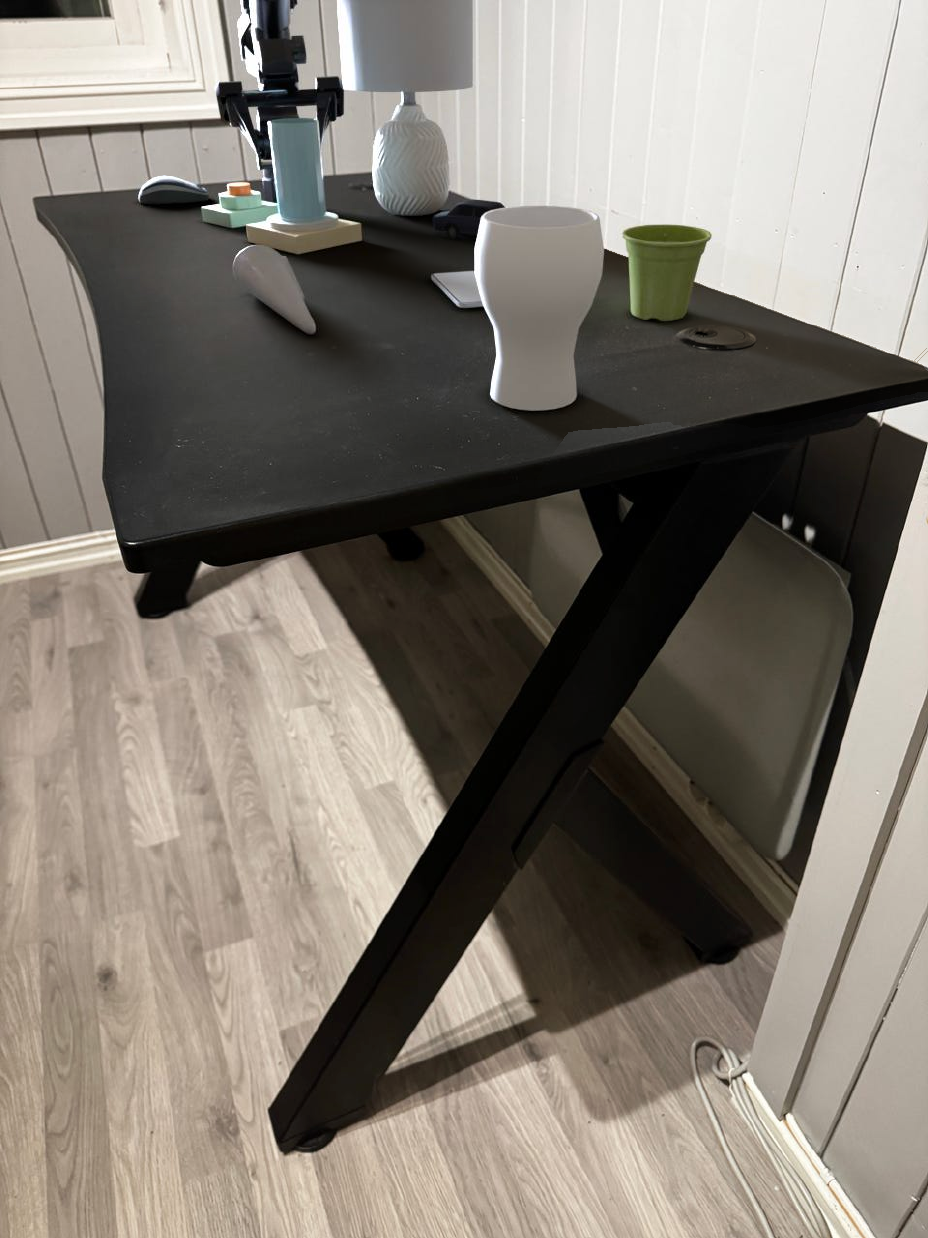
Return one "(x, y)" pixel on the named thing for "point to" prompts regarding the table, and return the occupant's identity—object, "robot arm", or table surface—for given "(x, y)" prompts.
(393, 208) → the lamp
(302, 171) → the tumbler
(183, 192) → the computer mouse
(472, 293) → the smartphone
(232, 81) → the robot arm
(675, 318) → the plant pot
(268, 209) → the button box
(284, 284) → the long tapered cone
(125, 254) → the table surface
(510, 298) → the cup
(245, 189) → the button
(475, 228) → the toy car
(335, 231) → the scale
